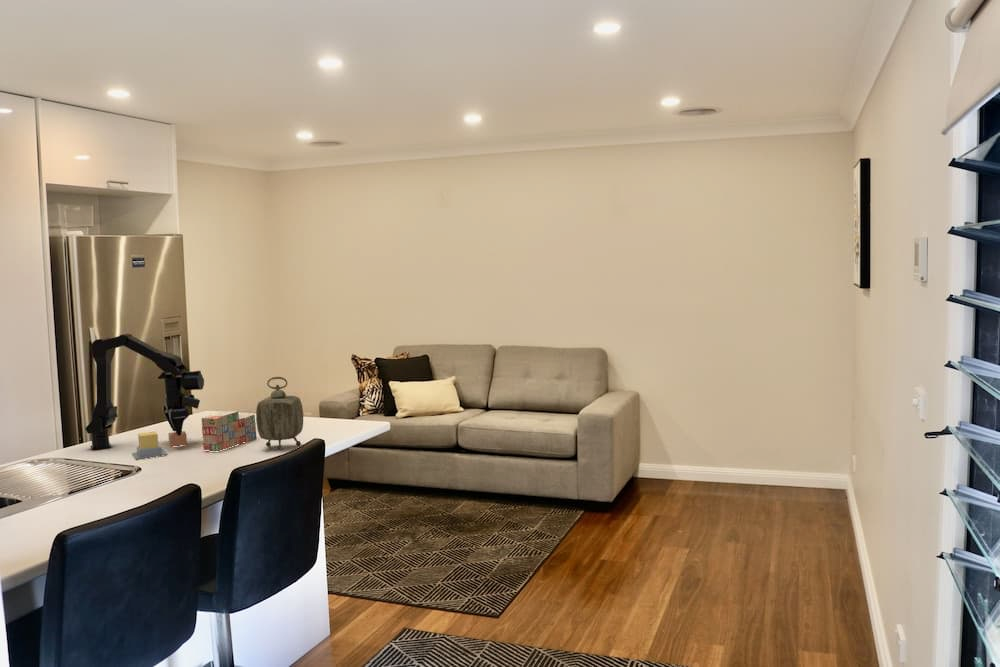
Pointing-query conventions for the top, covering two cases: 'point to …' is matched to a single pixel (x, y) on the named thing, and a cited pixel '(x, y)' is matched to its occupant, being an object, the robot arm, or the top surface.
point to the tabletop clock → (279, 416)
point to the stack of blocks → (227, 430)
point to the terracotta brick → (177, 439)
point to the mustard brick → (148, 440)
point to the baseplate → (148, 452)
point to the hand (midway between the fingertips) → (176, 433)
